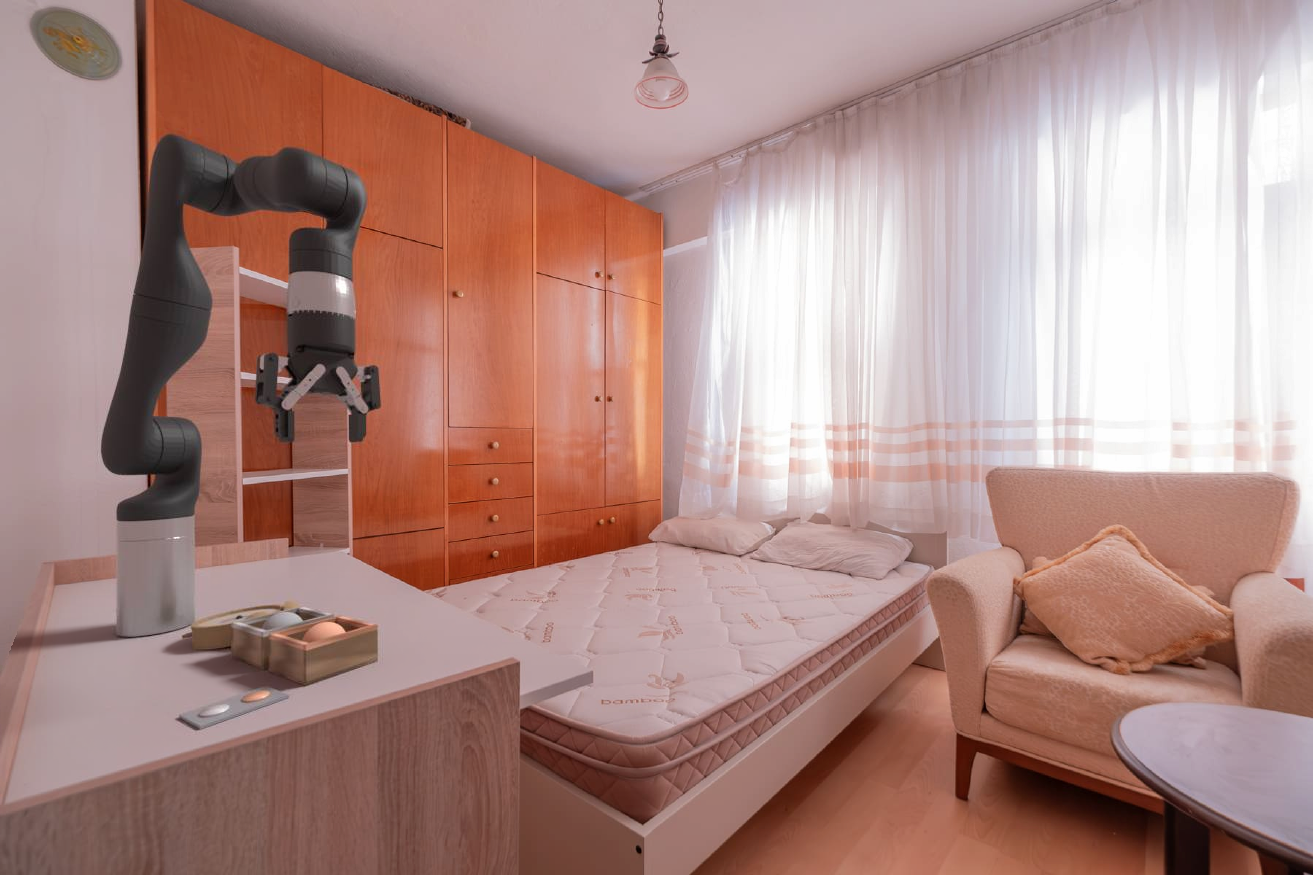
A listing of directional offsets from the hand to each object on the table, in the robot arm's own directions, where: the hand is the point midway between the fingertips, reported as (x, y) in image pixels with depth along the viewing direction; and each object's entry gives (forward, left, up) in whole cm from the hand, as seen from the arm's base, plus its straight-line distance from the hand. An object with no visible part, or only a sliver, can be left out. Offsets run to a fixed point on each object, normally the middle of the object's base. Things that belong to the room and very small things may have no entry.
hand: (322, 442), depth 71 cm
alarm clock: (-22, +1, -29) cm, 36 cm away
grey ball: (-10, 0, -25) cm, 27 cm away
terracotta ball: (0, 0, -25) cm, 25 cm away
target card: (+4, -11, -28) cm, 30 cm away
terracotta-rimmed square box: (0, 0, -28) cm, 28 cm away
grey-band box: (-10, 0, -28) cm, 30 cm away
